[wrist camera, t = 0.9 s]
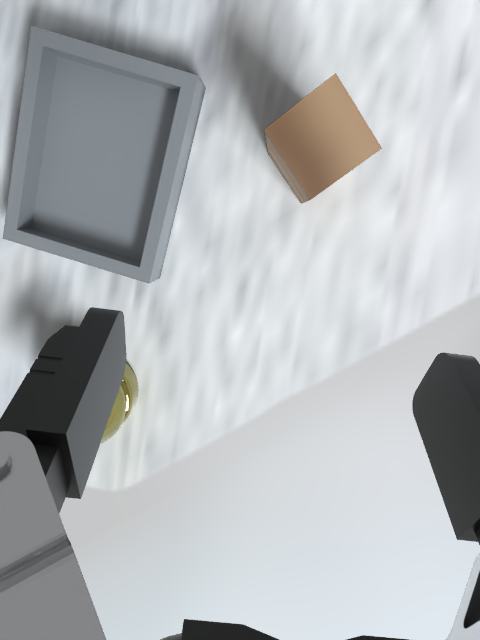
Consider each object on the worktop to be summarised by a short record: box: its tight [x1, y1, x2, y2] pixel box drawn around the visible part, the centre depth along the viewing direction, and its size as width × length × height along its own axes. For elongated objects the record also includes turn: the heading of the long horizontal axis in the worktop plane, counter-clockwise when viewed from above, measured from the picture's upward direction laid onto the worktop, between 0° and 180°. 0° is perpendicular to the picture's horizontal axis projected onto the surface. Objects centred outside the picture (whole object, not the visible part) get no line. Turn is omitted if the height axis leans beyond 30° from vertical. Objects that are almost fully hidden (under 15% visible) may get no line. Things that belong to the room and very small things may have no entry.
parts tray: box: [3, 25, 206, 283], centre depth 32 cm, size 15×12×3 cm
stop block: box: [264, 73, 382, 204], centre depth 27 cm, size 4×4×10 cm
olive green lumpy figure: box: [100, 363, 138, 443], centre depth 34 cm, size 7×7×10 cm
